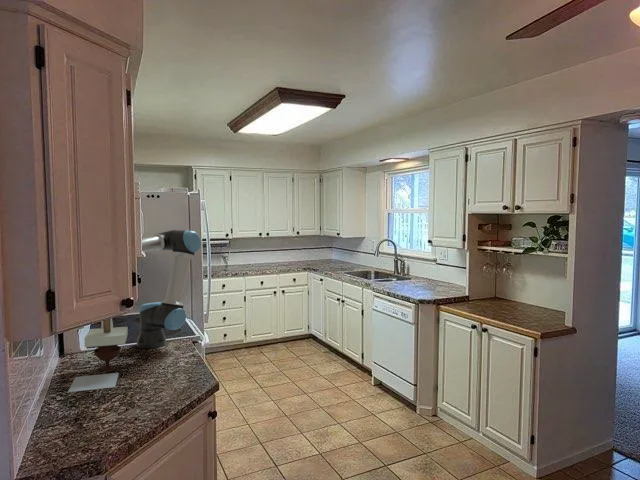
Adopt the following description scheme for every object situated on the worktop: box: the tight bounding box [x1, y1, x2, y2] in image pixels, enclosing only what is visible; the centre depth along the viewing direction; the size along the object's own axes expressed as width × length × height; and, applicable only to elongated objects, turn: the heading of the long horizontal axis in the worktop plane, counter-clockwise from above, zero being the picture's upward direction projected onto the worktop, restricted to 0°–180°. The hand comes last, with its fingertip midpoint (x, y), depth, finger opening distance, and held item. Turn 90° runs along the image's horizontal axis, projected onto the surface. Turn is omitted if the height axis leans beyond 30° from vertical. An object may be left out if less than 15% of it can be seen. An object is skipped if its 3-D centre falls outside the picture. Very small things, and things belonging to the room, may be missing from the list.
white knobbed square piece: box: [83, 319, 129, 348], centre depth 195 cm, size 16×16×13 cm
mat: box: [67, 372, 120, 393], centre depth 179 cm, size 17×17×1 cm
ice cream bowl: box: [93, 345, 122, 371], centre depth 196 cm, size 11×11×15 cm
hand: (107, 327), depth 195 cm, fingers closed on white knobbed square piece, 3 cm apart
